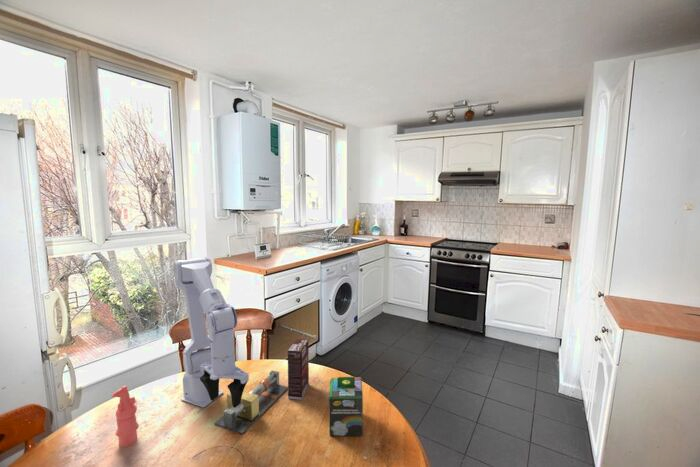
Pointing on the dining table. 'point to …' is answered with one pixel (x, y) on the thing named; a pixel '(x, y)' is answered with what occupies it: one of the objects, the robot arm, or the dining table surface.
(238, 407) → the pipe stand
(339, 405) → the chalk box
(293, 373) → the supplement box
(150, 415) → the dining table surface
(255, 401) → the yellow block with hole
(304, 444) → the dining table surface
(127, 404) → the figurine
